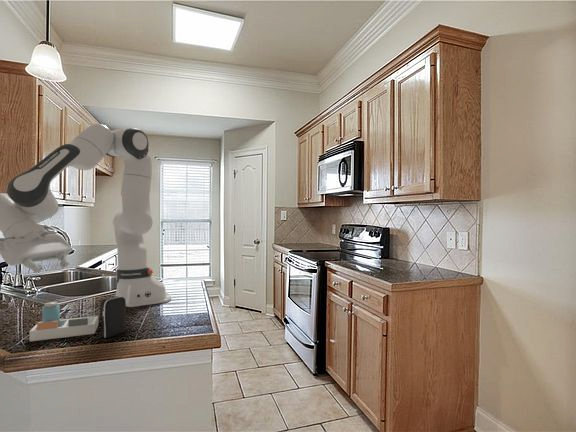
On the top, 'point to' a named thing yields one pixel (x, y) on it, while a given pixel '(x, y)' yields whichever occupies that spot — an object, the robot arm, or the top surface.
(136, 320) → the top surface
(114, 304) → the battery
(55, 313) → the light blue cylinder
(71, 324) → the dock
